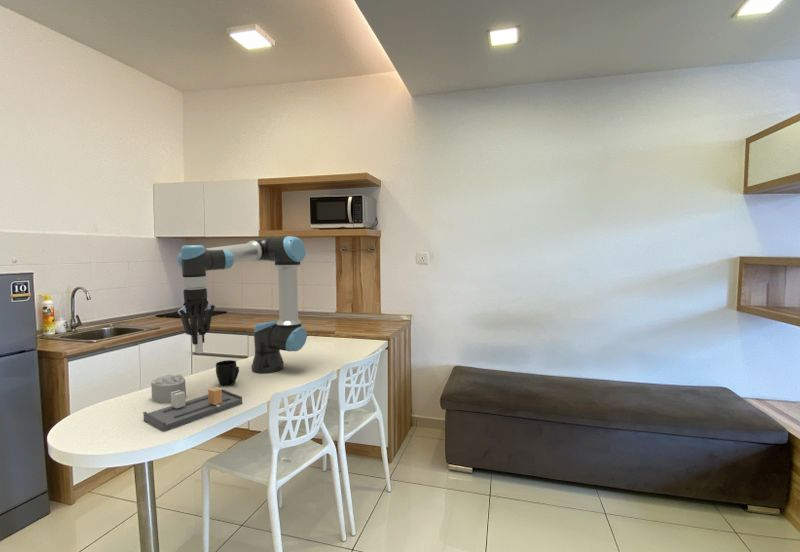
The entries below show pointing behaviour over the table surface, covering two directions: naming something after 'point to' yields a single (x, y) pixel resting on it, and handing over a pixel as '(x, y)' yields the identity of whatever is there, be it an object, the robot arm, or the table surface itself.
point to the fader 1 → (177, 399)
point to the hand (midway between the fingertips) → (199, 352)
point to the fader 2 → (215, 395)
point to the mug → (227, 372)
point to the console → (190, 411)
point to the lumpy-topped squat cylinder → (167, 387)
